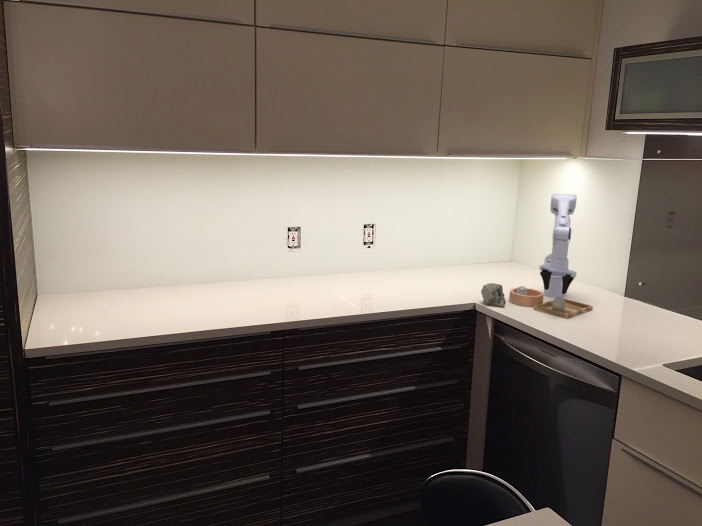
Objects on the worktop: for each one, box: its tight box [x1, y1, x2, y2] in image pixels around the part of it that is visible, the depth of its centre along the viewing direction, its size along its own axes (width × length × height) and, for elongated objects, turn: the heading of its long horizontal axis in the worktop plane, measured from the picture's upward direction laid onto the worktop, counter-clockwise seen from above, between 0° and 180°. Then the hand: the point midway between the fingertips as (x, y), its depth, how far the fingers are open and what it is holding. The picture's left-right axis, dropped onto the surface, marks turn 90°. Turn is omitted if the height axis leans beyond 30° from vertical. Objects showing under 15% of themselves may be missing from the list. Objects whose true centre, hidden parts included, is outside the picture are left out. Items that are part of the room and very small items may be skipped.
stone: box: [480, 282, 506, 308], centre depth 243 cm, size 10×10×10 cm
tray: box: [533, 298, 594, 320], centre depth 238 cm, size 20×14×2 cm
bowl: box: [508, 287, 545, 308], centre depth 247 cm, size 13×13×5 cm
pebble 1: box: [516, 285, 527, 295], centre depth 249 cm, size 4×4×6 cm
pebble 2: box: [552, 297, 565, 313], centre depth 235 cm, size 4×4×6 cm
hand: (555, 291), depth 236 cm, fingers open, 7 cm apart
